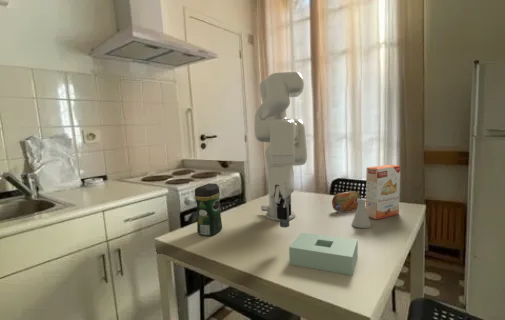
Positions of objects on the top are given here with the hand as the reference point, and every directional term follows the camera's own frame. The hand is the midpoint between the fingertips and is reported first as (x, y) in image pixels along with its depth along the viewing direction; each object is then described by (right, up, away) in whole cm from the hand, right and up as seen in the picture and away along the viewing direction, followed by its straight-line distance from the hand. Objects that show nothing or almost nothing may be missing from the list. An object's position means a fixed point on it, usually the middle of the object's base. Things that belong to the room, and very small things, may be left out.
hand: (284, 216), depth 91 cm
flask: (+32, -7, +18) cm, 37 cm away
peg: (0, -3, 0) cm, 3 cm away
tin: (+32, -5, +38) cm, 50 cm away
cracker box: (+44, -5, +28) cm, 53 cm away
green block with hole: (+11, -11, -8) cm, 17 cm away
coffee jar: (-26, -10, +18) cm, 34 cm away
